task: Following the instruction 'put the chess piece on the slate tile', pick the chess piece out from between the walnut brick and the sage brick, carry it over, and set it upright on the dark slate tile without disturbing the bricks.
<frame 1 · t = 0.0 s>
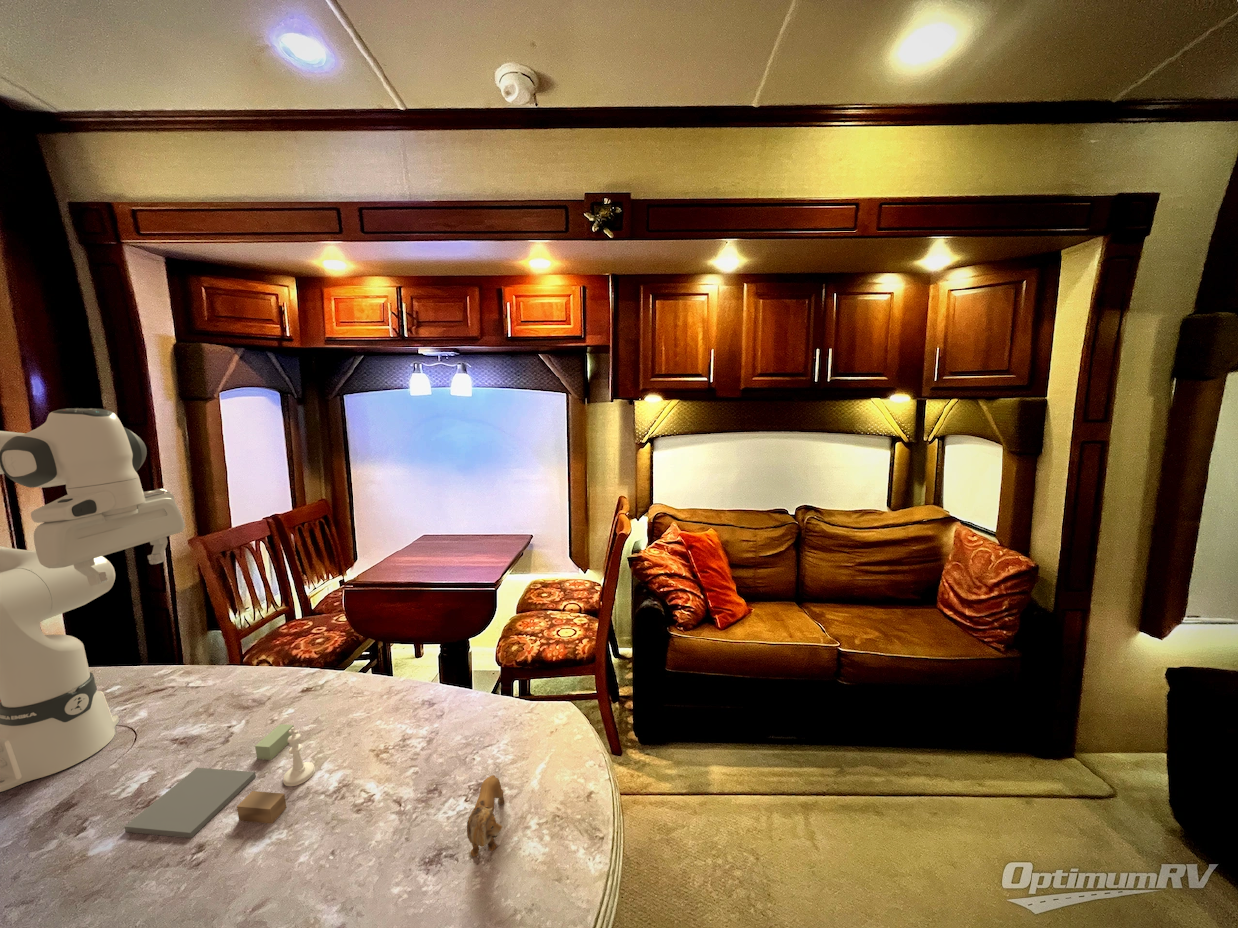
hand: (130, 572, 84), 39 cm above the countertop, tool pointing down, fingers open, 8 cm apart
lion figurine: (490, 834, 75), on the countertop
sage brick: (276, 748, 94), on the countertop
walnut brick: (263, 814, 79), on the countertop
slate tile: (194, 802, 81), on the countertop
chess piece: (299, 776, 87), on the countertop
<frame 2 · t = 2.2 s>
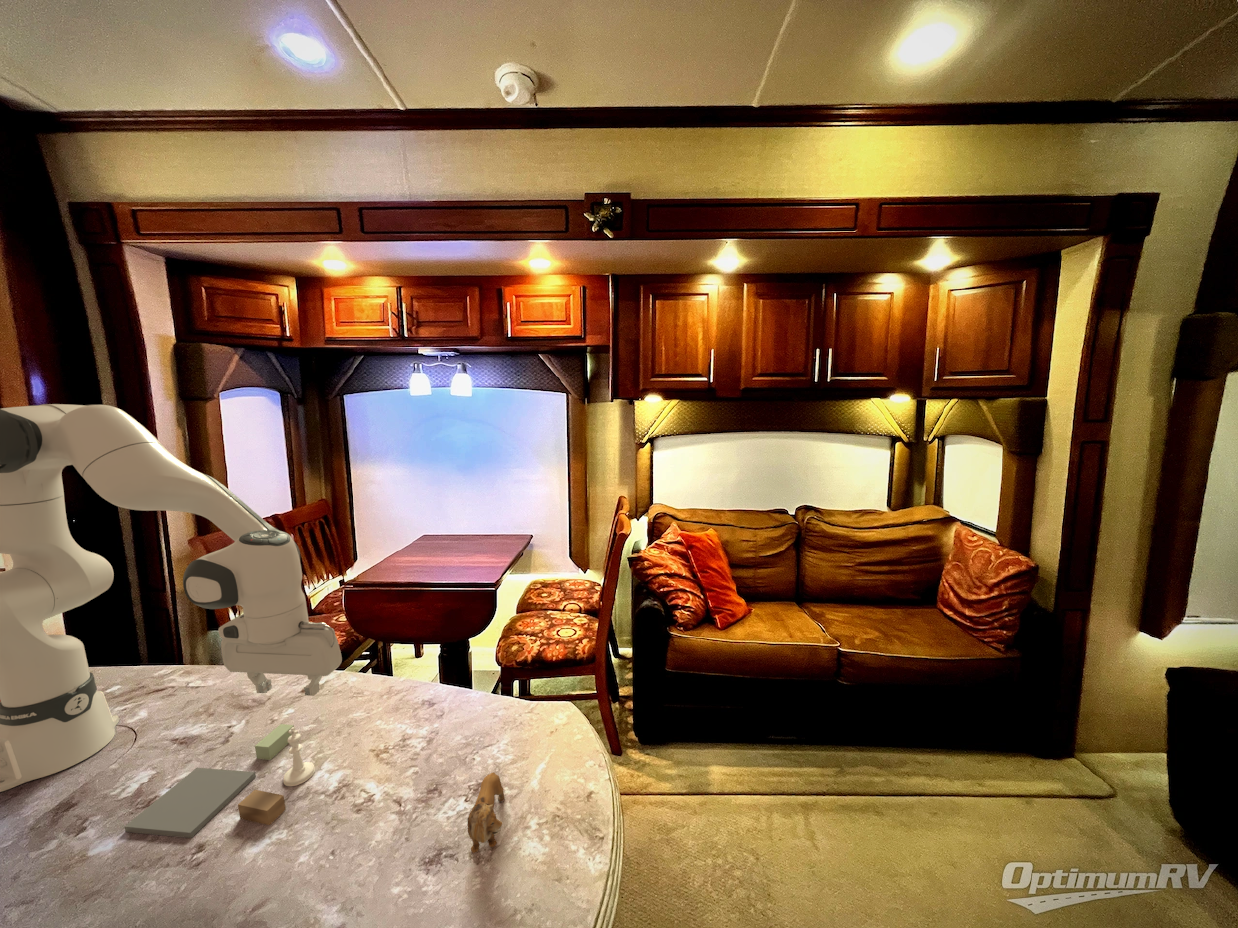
hand: (288, 692, 84), 17 cm above the countertop, tool pointing down, fingers open, 8 cm apart
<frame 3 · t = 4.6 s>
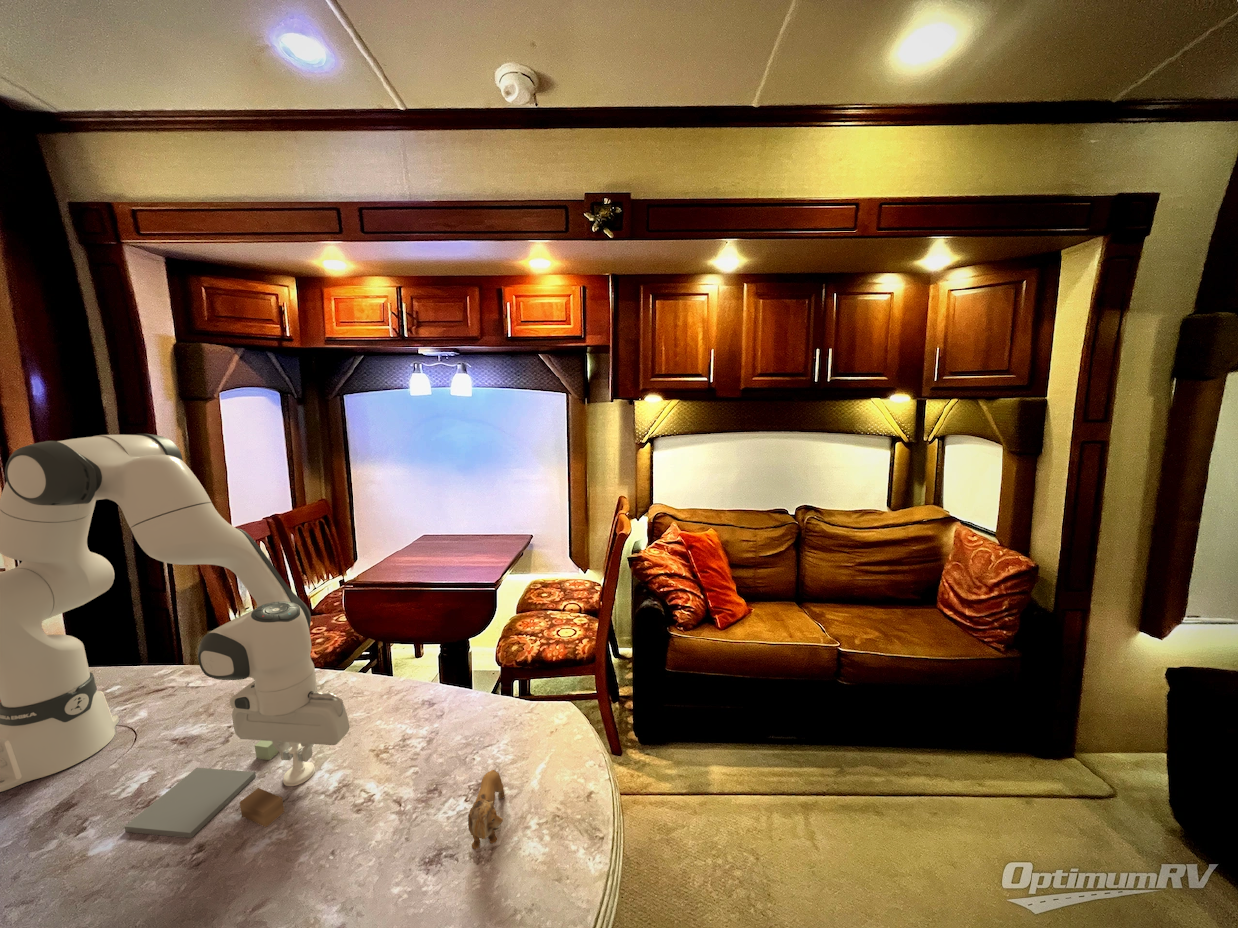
hand: (297, 758, 86), 4 cm above the countertop, tool pointing down, fingers closed on chess piece
chess piece: (299, 776, 87), on the countertop, touching gripper
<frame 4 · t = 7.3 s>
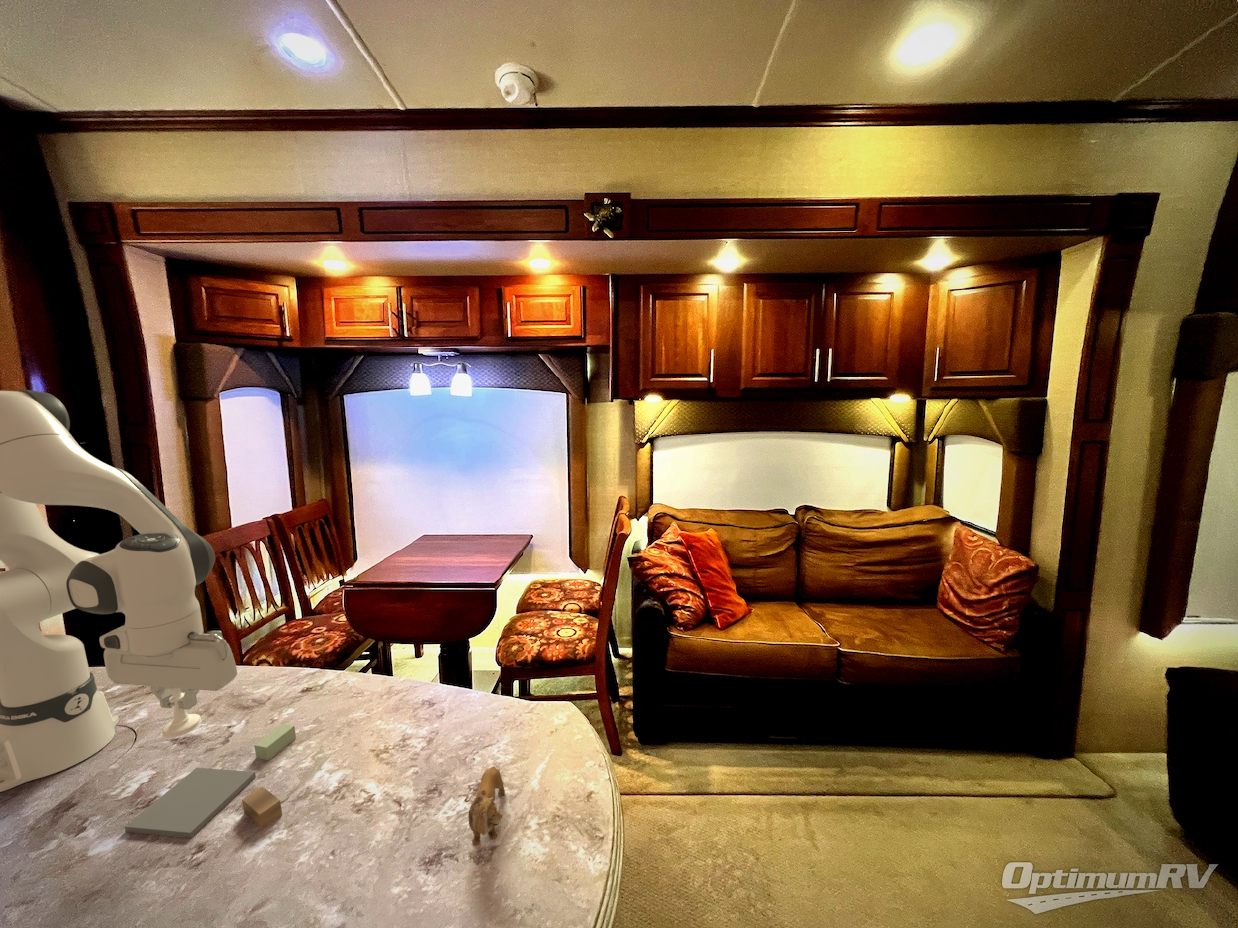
hand: (179, 706, 79), 18 cm above the countertop, tool pointing down, fingers closed on chess piece
chess piece: (182, 728, 79), point 14 cm above the countertop, touching gripper
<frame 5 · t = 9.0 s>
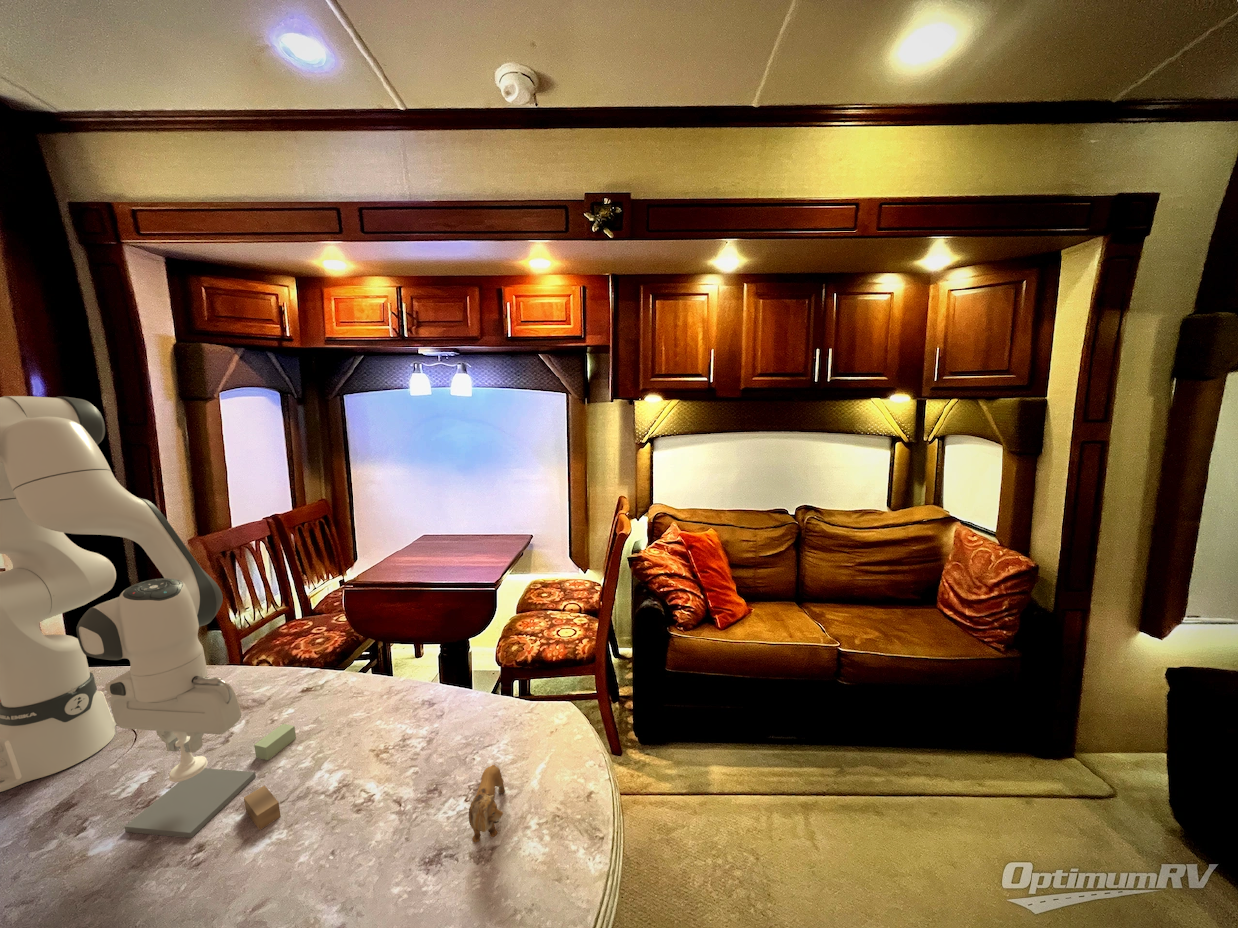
hand: (185, 749, 80), 11 cm above the countertop, tool pointing down, fingers closed on chess piece
chess piece: (189, 771, 80), point 6 cm above the countertop, touching gripper
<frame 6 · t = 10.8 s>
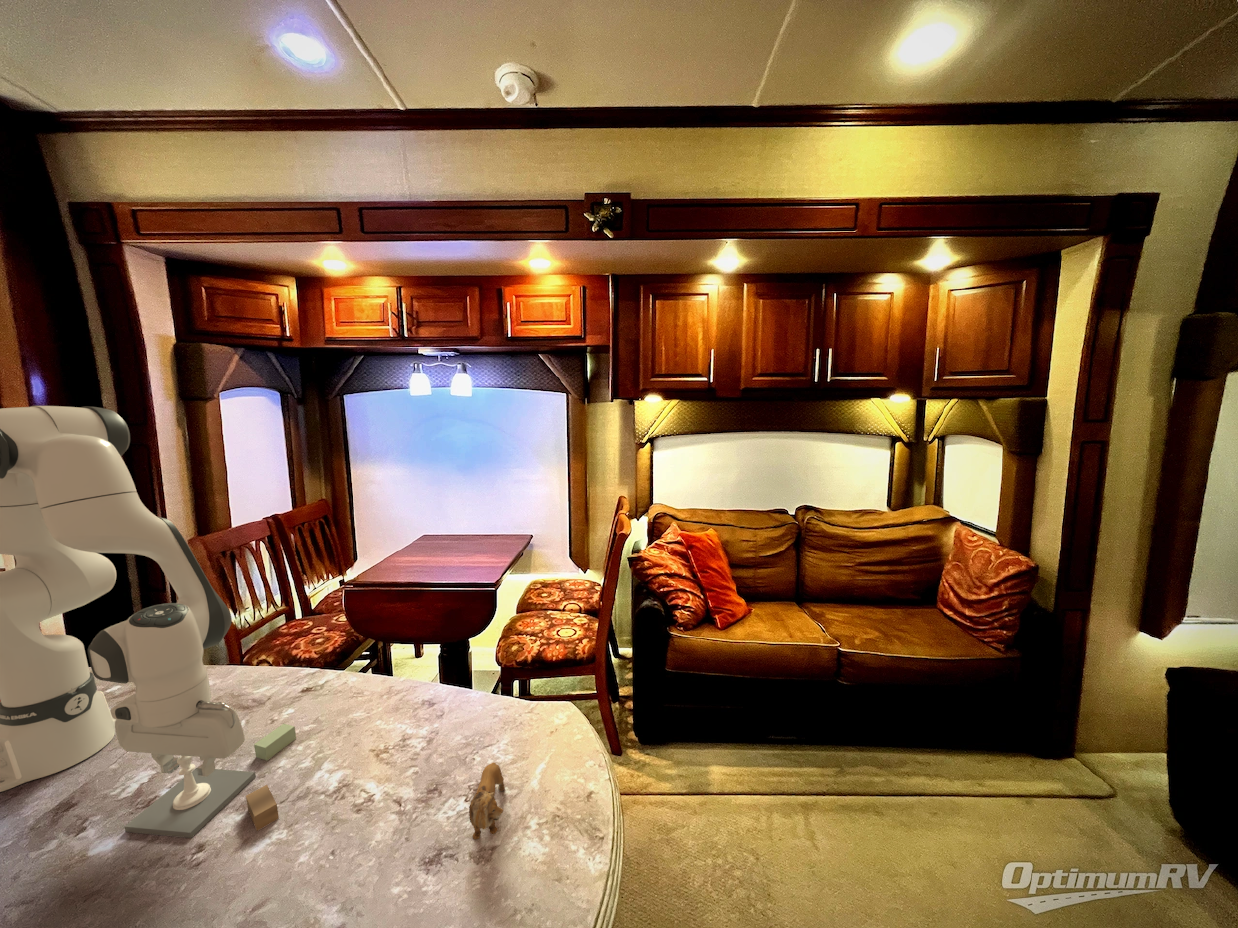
hand: (189, 771, 80), 6 cm above the countertop, tool pointing down, fingers open, 5 cm apart
chess piece: (192, 798, 81), point 1 cm above the countertop, touching slate tile
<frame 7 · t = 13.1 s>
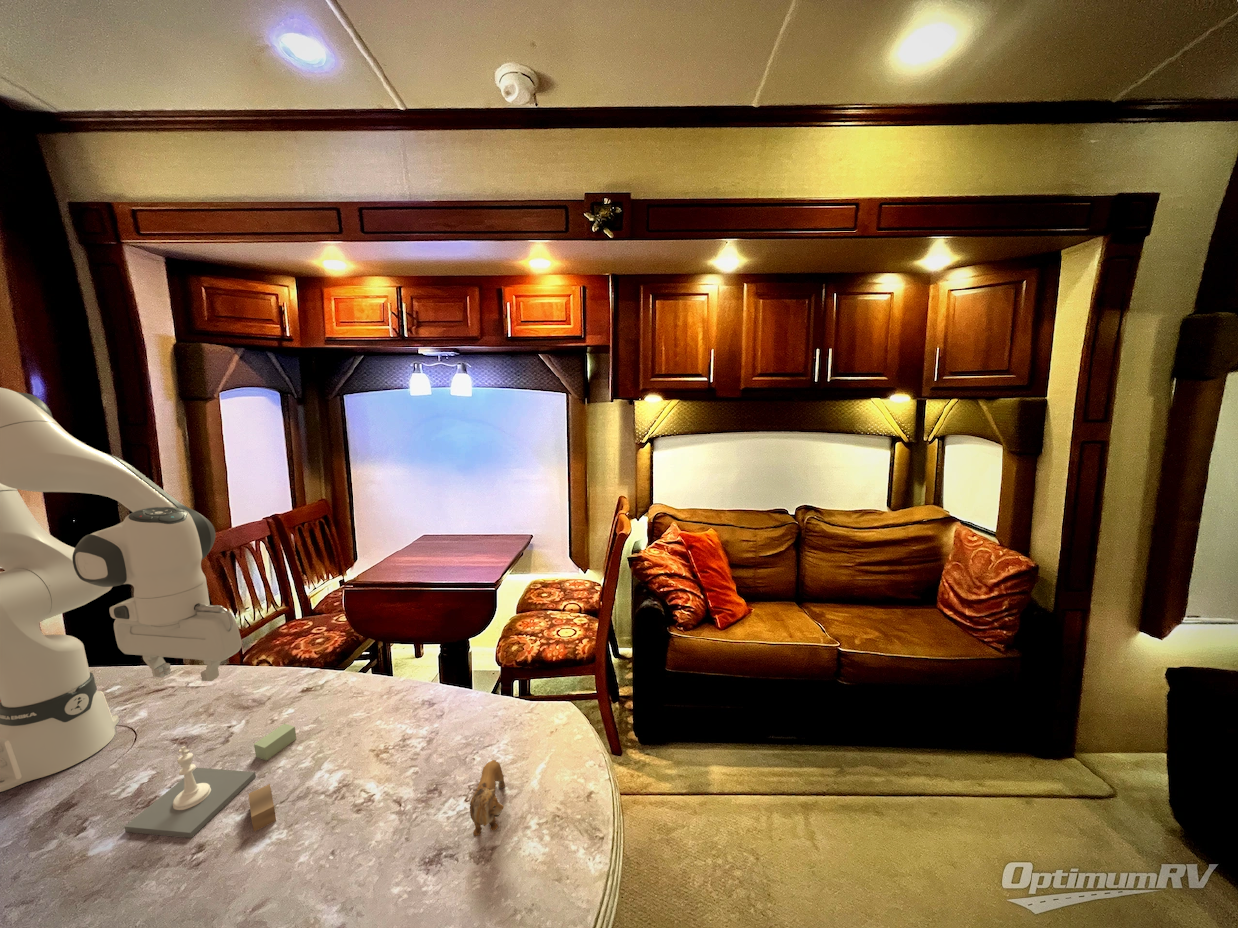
hand: (186, 677, 81), 22 cm above the countertop, tool pointing down, fingers open, 8 cm apart
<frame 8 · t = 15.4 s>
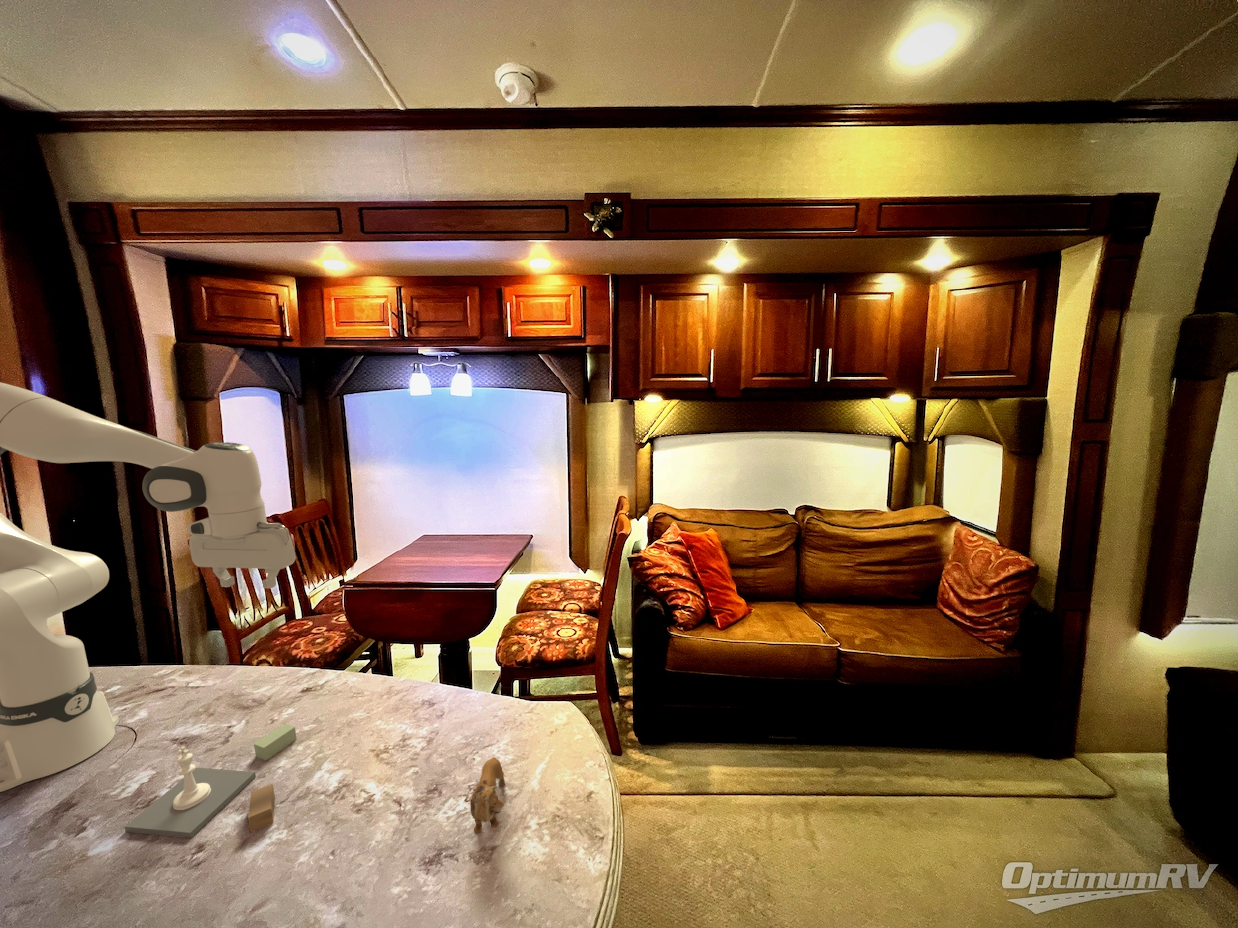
hand: (249, 586, 96), 31 cm above the countertop, tool pointing down, fingers open, 8 cm apart
at the end: chess piece inside the target area on the slate tile (0.2 cm from its centre), point 0.8 cm above the slate tile's base; chess piece tilted 0°; walnut brick moved 0.2 cm from its start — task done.
